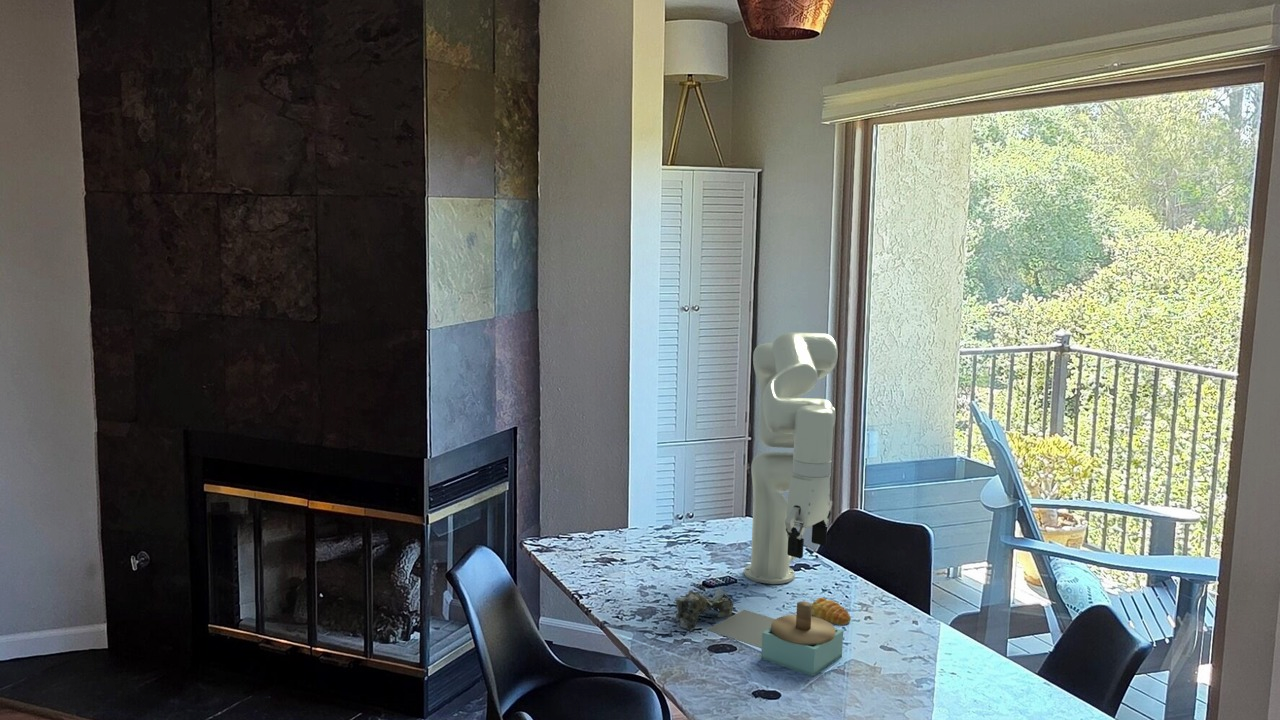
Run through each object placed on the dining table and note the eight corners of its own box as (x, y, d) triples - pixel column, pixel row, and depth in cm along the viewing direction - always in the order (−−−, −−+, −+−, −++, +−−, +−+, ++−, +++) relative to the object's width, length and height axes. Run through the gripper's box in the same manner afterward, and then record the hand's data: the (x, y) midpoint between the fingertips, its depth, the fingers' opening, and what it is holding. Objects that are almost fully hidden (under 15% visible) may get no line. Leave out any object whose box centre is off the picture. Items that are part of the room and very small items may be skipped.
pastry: (857, 623, 231) (858, 607, 230) (837, 630, 227) (838, 614, 226) (826, 609, 238) (826, 593, 238) (805, 616, 234) (806, 600, 233)
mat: (744, 611, 235) (744, 609, 235) (802, 629, 226) (802, 627, 226) (706, 631, 224) (706, 629, 224) (766, 651, 215) (766, 649, 214)
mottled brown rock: (750, 612, 227) (698, 582, 221) (723, 653, 227) (671, 625, 221) (729, 590, 237) (679, 562, 232) (703, 630, 237) (653, 602, 232)
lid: (790, 613, 219) (792, 587, 219) (846, 630, 212) (848, 603, 211) (759, 632, 209) (760, 605, 208) (816, 650, 201) (817, 622, 200)
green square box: (790, 641, 219) (792, 615, 219) (841, 658, 212) (843, 630, 211) (761, 660, 210) (762, 632, 209) (813, 678, 203) (814, 649, 202)
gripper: (816, 456, 214) (811, 535, 217) (772, 473, 201) (768, 557, 203) (848, 463, 210) (843, 543, 212) (807, 480, 196) (802, 566, 199)
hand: (807, 550), depth 208 cm, fingers open, 9 cm apart
